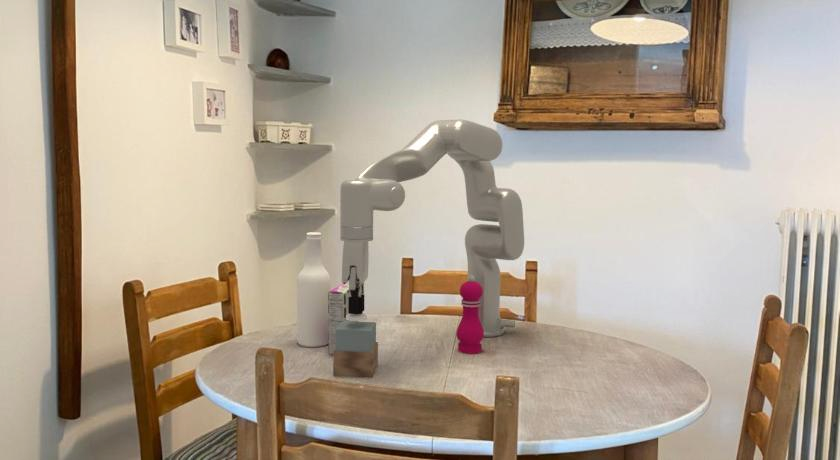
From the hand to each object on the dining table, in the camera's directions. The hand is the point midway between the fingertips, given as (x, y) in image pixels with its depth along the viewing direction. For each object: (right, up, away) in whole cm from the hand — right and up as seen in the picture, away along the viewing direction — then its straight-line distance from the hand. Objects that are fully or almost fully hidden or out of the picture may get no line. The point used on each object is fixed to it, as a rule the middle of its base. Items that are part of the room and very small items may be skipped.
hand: (356, 311), depth 150 cm
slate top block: (0, -8, 0) cm, 8 cm away
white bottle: (-14, -12, +24) cm, 30 cm away
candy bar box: (-5, -12, +19) cm, 23 cm away
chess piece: (0, -2, 0) cm, 2 cm away
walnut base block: (0, -14, +1) cm, 14 cm away
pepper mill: (+28, -13, +19) cm, 36 cm away
